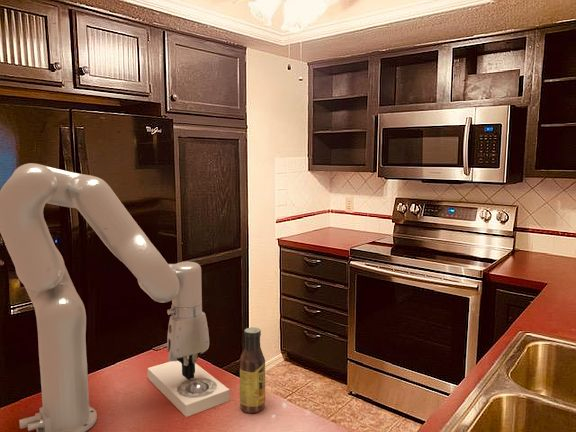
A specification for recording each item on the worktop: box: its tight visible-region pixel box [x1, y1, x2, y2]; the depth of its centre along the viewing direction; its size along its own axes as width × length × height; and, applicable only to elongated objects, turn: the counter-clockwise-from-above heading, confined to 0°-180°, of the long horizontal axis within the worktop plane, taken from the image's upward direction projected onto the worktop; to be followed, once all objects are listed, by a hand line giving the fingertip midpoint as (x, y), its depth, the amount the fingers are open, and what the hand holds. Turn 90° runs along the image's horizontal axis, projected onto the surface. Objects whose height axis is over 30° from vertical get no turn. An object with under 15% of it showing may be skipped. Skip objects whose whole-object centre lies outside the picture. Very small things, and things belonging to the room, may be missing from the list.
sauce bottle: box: [239, 327, 266, 414], centre depth 112 cm, size 6×6×20 cm
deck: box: [146, 360, 231, 418], centre depth 121 cm, size 12×24×3 cm, turn 38°
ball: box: [189, 382, 207, 394], centre depth 116 cm, size 4×4×4 cm
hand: (188, 376), depth 120 cm, fingers closed
